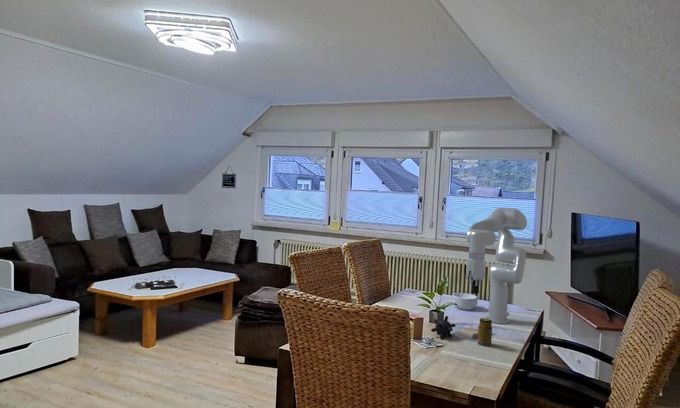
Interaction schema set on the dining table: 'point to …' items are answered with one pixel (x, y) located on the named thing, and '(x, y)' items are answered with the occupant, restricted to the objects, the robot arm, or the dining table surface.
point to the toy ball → (443, 327)
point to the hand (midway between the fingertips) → (475, 293)
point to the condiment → (485, 332)
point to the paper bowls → (464, 300)
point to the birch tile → (468, 332)
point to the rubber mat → (467, 337)
